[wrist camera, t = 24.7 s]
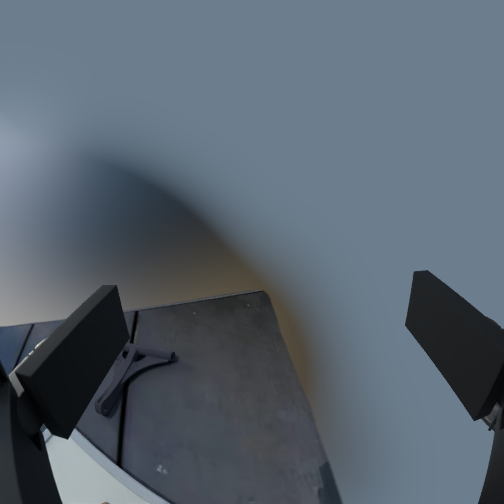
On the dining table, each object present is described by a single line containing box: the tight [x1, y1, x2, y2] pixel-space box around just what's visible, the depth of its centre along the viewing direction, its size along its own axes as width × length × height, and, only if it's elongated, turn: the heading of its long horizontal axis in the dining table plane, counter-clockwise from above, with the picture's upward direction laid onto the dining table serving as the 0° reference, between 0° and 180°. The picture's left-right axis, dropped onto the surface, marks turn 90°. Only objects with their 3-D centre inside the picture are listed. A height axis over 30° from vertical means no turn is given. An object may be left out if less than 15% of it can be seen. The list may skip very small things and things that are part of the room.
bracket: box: [95, 343, 175, 416], centre depth 41 cm, size 14×15×3 cm
